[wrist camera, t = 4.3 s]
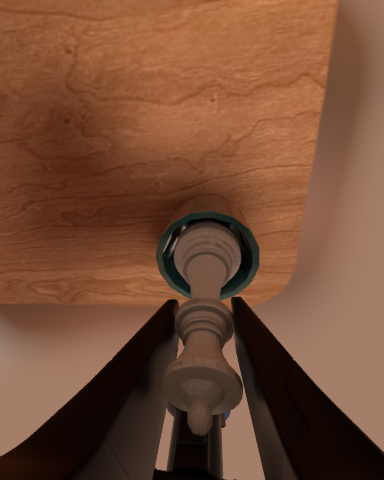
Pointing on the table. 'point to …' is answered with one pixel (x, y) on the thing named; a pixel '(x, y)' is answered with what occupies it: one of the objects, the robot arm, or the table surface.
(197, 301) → the chess piece
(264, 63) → the table surface
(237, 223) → the cup
